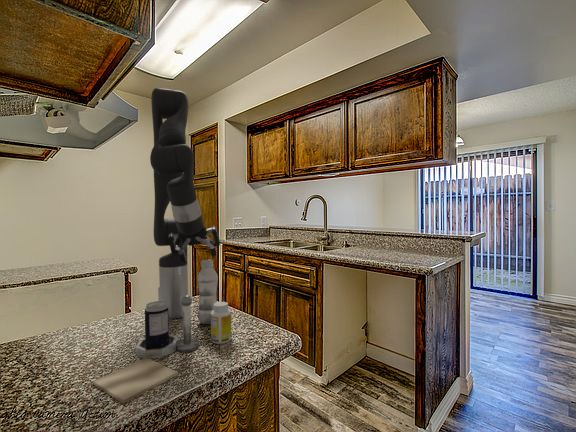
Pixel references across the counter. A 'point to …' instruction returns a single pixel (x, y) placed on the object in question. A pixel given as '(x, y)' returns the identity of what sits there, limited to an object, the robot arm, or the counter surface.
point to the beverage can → (156, 325)
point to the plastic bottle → (207, 291)
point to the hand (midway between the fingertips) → (199, 259)
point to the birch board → (134, 379)
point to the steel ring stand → (173, 337)
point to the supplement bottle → (220, 323)
